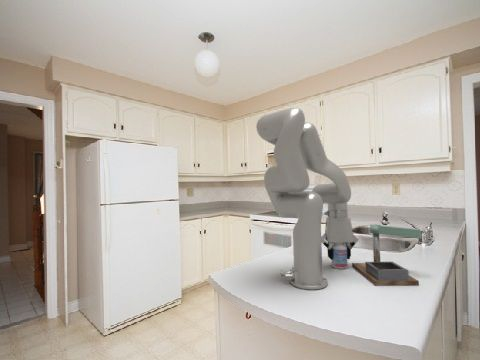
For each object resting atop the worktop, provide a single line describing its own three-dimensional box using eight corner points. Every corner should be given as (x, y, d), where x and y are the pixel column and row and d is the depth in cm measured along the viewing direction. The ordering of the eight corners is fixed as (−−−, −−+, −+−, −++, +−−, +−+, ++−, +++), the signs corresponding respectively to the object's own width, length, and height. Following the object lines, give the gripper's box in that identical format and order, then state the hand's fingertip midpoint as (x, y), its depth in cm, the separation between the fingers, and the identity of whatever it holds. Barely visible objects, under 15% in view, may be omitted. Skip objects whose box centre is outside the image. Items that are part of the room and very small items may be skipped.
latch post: (375, 265, 102) (374, 234, 102) (372, 263, 104) (371, 233, 105) (381, 265, 102) (380, 234, 102) (378, 263, 104) (377, 232, 105)
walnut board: (374, 285, 86) (374, 281, 86) (352, 266, 106) (352, 263, 106) (418, 285, 85) (418, 280, 85) (387, 266, 105) (387, 262, 105)
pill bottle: (336, 269, 102) (335, 241, 103) (329, 265, 108) (328, 238, 109) (350, 268, 103) (349, 240, 104) (342, 264, 109) (341, 237, 110)
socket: (378, 281, 86) (377, 270, 86) (365, 271, 95) (365, 261, 95) (408, 280, 85) (407, 270, 85) (392, 271, 95) (392, 261, 95)
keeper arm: (368, 232, 104) (368, 225, 104) (373, 231, 106) (372, 224, 106) (417, 238, 90) (417, 230, 91) (421, 237, 93) (421, 228, 93)
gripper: (318, 215, 103) (320, 261, 103) (363, 214, 102) (364, 260, 102) (314, 213, 111) (315, 256, 110) (355, 212, 110) (357, 255, 109)
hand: (339, 258), depth 106 cm, fingers closed on pill bottle, 6 cm apart
